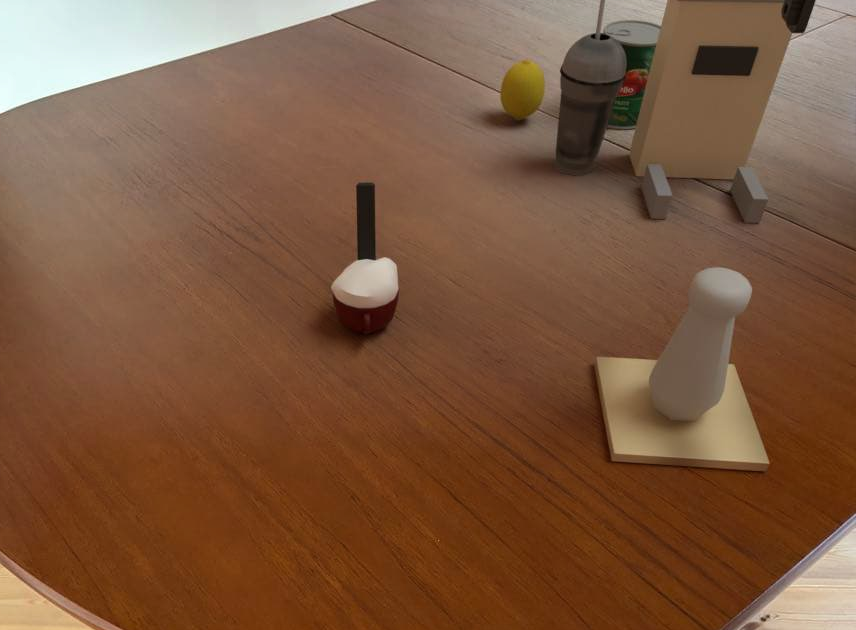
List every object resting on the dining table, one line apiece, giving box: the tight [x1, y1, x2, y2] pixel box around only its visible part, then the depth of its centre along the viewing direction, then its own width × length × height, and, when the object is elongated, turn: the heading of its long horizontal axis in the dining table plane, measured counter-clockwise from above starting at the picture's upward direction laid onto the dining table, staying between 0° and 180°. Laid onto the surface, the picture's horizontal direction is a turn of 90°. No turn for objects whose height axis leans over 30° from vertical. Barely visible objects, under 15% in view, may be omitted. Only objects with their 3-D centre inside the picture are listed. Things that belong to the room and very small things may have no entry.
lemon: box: [499, 58, 546, 121], centre depth 111 cm, size 6×6×8 cm
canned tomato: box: [602, 19, 661, 131], centre depth 110 cm, size 8×8×11 cm
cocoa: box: [330, 181, 400, 335], centre depth 79 cm, size 10×6×12 cm, turn 156°
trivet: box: [593, 356, 771, 472], centre depth 73 cm, size 12×12×1 cm
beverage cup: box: [554, 0, 626, 176], centre depth 97 cm, size 7×7×20 cm
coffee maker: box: [628, 0, 793, 224], centre depth 92 cm, size 13×15×23 cm
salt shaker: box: [649, 266, 753, 421], centre depth 68 cm, size 6×6×13 cm
